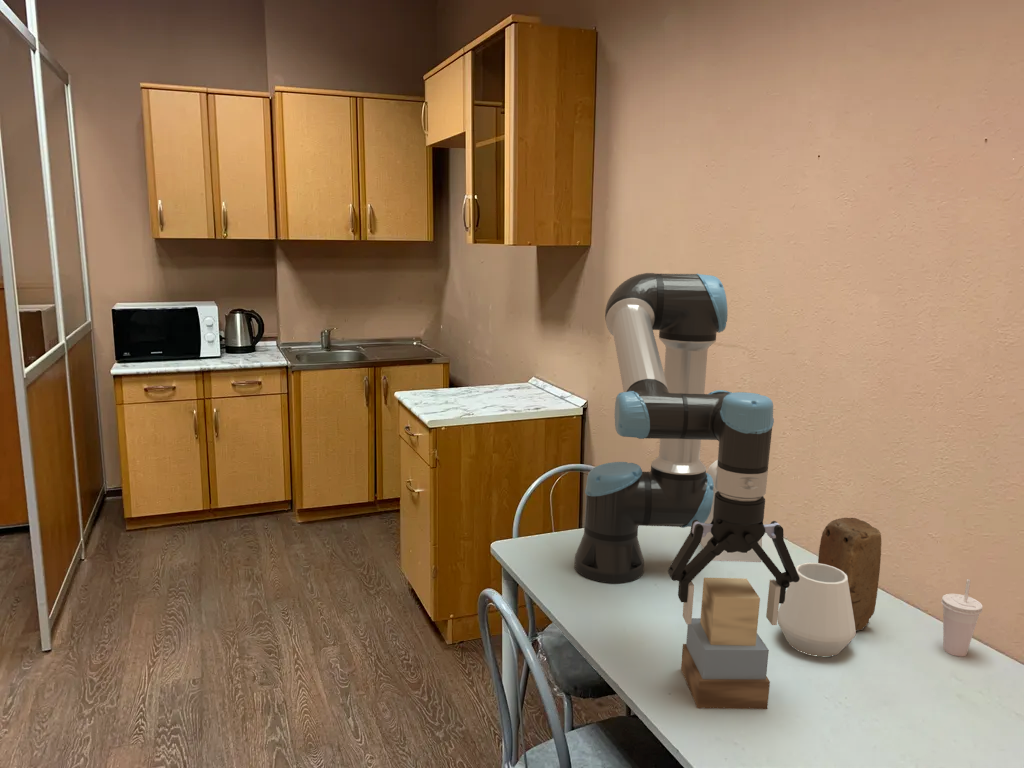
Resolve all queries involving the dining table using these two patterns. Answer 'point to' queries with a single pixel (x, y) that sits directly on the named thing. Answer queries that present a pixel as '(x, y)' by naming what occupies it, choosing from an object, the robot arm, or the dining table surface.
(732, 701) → the tower base
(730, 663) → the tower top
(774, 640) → the dining table surface
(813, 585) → the white ceramic vase
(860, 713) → the dining table surface
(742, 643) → the oak block
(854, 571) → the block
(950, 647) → the smoothie
